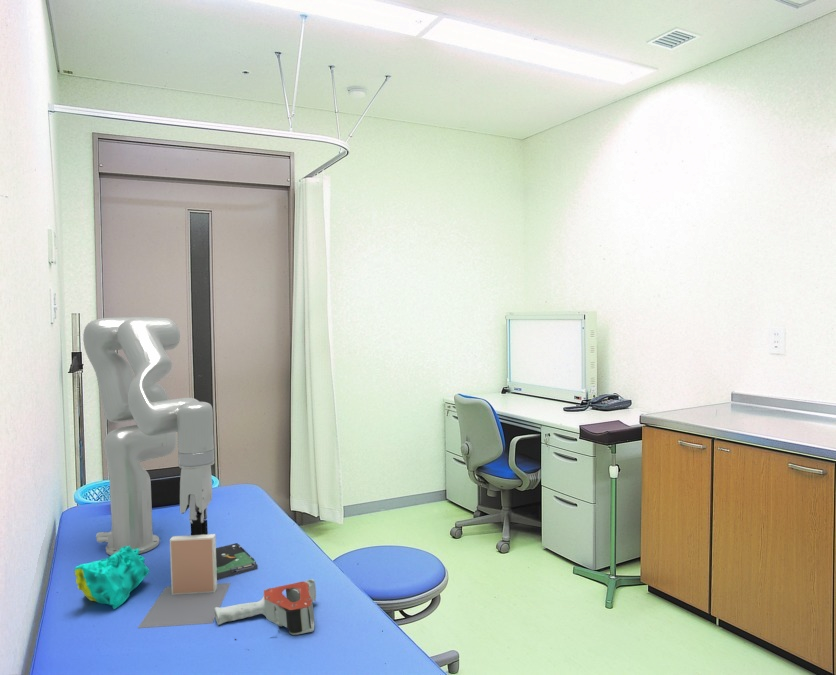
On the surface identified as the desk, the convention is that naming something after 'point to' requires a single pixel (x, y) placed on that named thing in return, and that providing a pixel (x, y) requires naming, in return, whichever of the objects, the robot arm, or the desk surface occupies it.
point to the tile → (193, 564)
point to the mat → (184, 608)
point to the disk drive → (233, 561)
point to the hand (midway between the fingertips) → (199, 538)
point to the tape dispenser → (278, 607)
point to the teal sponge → (112, 577)
